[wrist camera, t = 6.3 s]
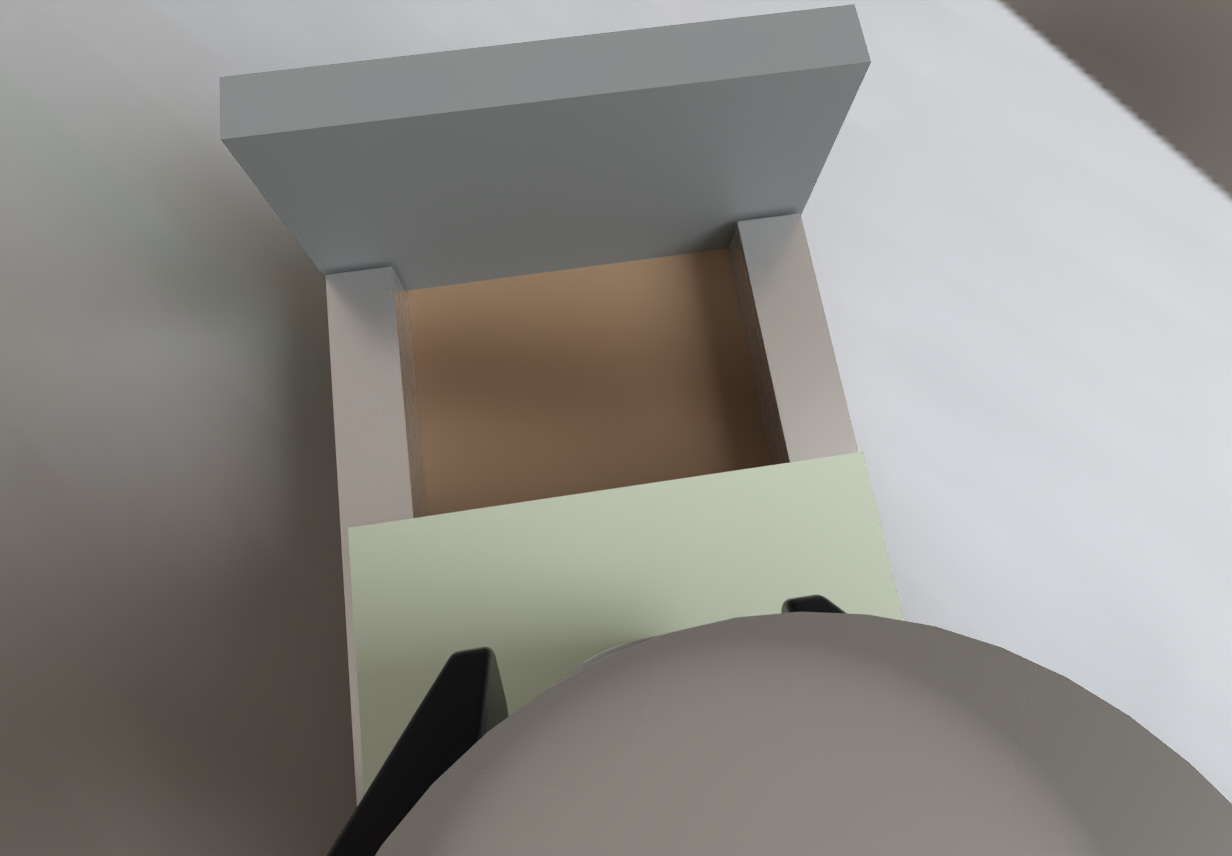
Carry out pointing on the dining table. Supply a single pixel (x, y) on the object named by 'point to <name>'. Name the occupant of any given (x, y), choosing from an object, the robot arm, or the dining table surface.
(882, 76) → the dining table surface
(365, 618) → the carriage
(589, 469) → the rail
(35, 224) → the dining table surface
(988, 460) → the dining table surface
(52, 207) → the dining table surface
